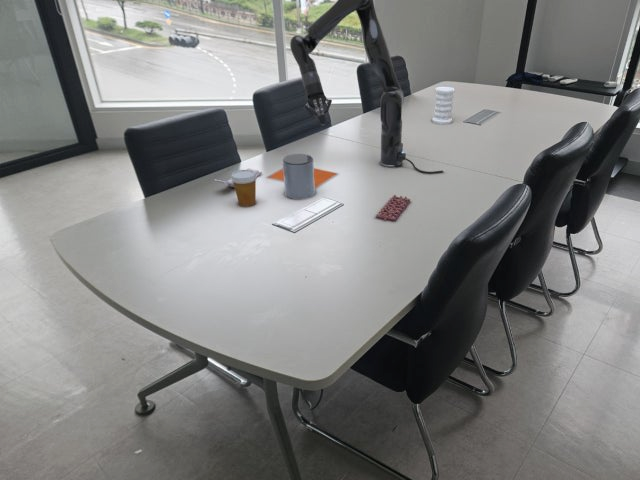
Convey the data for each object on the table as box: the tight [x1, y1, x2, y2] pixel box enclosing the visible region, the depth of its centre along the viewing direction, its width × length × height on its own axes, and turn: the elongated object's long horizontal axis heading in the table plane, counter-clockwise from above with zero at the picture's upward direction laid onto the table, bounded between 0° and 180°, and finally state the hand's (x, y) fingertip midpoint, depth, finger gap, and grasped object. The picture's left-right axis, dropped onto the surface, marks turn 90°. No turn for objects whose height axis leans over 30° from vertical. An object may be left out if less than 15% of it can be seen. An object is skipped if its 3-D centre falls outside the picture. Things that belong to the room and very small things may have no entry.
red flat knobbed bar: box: [375, 194, 411, 222], centre depth 193 cm, size 7×19×2 cm, turn 159°
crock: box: [281, 153, 316, 200], centre depth 202 cm, size 12×12×15 cm
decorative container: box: [431, 86, 455, 125], centre depth 289 cm, size 12×12×18 cm
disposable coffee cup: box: [230, 169, 258, 207], centre depth 194 cm, size 10×10×12 cm
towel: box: [268, 168, 338, 188], centre depth 221 cm, size 24×18×1 cm
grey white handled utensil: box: [214, 168, 263, 188], centre depth 212 cm, size 6×6×25 cm
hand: (323, 124), depth 220 cm, fingers closed
